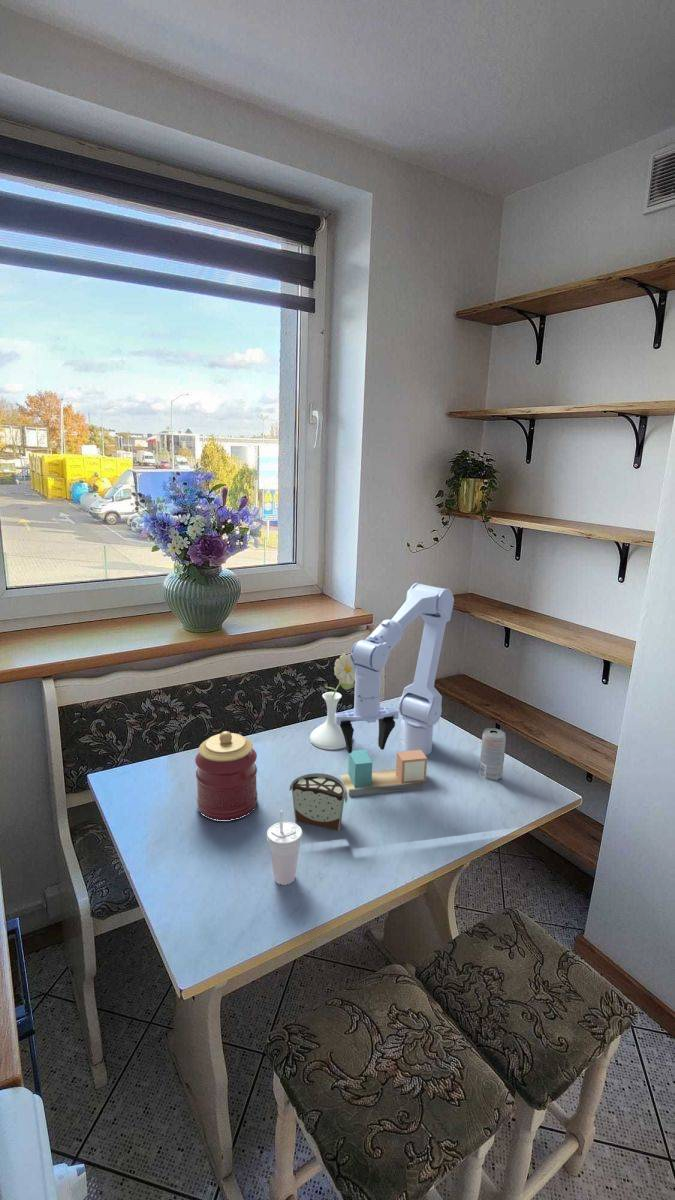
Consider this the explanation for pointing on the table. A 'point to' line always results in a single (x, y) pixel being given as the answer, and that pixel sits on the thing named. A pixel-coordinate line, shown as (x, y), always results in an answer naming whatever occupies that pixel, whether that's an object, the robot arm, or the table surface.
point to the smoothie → (284, 849)
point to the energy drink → (492, 754)
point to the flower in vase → (334, 708)
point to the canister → (226, 776)
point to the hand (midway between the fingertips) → (365, 749)
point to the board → (379, 784)
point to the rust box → (411, 766)
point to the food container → (319, 800)
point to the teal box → (360, 768)
